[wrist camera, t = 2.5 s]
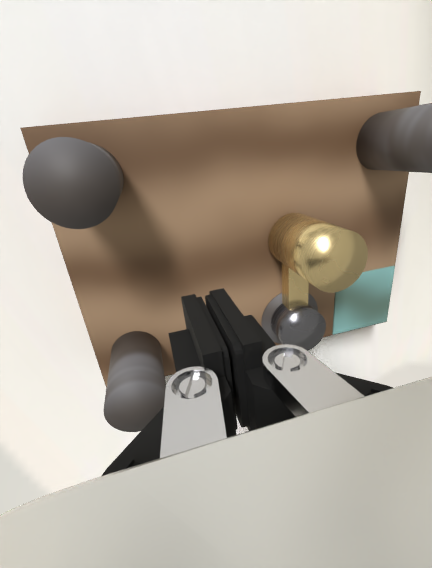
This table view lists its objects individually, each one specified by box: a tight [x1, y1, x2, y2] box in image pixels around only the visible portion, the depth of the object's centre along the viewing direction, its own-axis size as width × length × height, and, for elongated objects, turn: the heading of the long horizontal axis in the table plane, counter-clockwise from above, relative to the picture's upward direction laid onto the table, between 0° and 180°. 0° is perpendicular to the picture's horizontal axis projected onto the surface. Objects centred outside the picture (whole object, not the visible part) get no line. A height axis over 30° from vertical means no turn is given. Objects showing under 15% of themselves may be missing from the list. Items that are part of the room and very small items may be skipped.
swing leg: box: [268, 213, 368, 351], centre depth 18 cm, size 9×3×5 cm, turn 7°
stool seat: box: [21, 91, 432, 432], centre depth 18 cm, size 16×22×8 cm
